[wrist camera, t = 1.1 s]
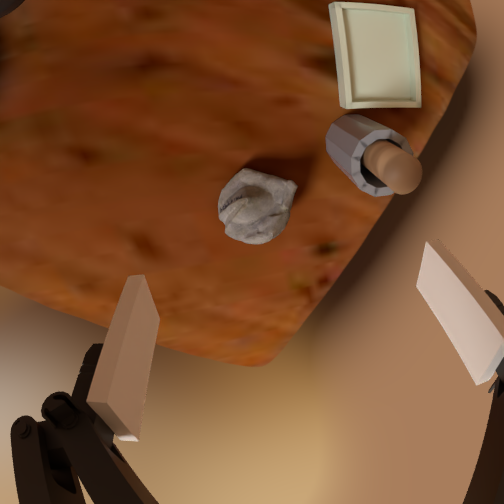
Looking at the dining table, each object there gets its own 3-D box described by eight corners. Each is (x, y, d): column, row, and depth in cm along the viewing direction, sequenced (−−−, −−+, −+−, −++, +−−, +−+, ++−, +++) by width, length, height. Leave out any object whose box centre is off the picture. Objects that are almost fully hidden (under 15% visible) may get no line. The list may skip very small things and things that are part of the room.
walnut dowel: (339, 125, 39) (386, 140, 26) (367, 124, 39) (422, 138, 26) (342, 165, 41) (387, 197, 28) (369, 163, 41) (422, 193, 28)
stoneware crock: (323, 116, 39) (349, 131, 30) (377, 113, 38) (413, 128, 30) (327, 170, 43) (351, 199, 34) (378, 165, 43) (411, 192, 34)
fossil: (252, 144, 40) (257, 161, 34) (306, 181, 44) (320, 205, 37) (205, 209, 45) (201, 237, 38) (258, 240, 48) (263, 272, 41)
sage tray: (328, 5, 30) (334, 1, 28) (404, 10, 30) (413, 8, 28) (340, 106, 38) (346, 108, 36) (412, 104, 38) (421, 107, 36)
